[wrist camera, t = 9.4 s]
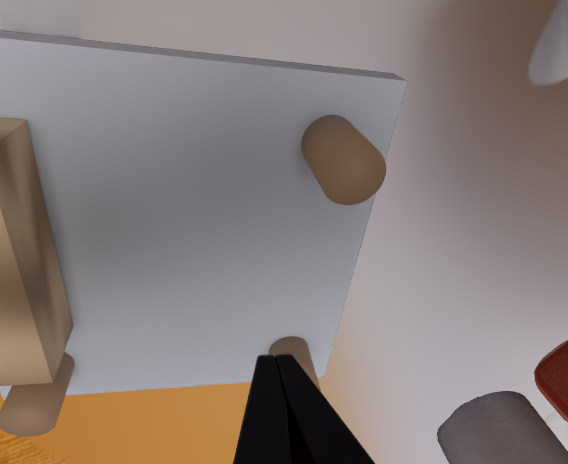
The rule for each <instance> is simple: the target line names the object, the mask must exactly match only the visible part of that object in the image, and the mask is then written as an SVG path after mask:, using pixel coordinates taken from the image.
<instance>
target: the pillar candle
mask: <svg viewBox="0 0 568 464" xmlns="http://www.w3.org/2000/svg"><path fill="white" fill-rule="evenodd" d="M437 437H438V442H439V444H440V446H441V448H442V450H443V452H444V454H445V456H446V458H447V460H448V462H449V463H450V464H568V451H567V450H566V449H565V447H564V446H563V445H562V444H561V442H560V441H559V440H558V438H557V437H556V436H555V434H554V433H553V432H552V431H551V429H550V428H549V427H548V425H547V424H546V423H545V422H544V420H543V419H542V418H541V417H540V415H539V414H538V413H537V411H536V410H535V409H534V407H533V406H532V405H531V403H530V402H529V401H528V400H527V399H526V398H525V396H523V395H522V394H520V393H516V392H512V391H502V392H494V393H490V394H487V395H484V396H481V397H477V398H475V399H473V400H471V401H470V402H467V403H464V404H463V405H461V406H460V407H459V408H458V409H456V410H455V411H454V413H453V414H452V415H451V416H450V417H449V418H448V419H447V420H446V421H445V422H444V423H443V424H442V425H441V426H440V427H439V429H438V432H437Z"/></svg>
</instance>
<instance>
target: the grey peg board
mask: <svg viewBox="0 0 568 464" xmlns="http://www.w3.org/2000/svg"><path fill="white" fill-rule="evenodd" d="M407 82H408V81H407V80H404V79H403V78H401V77H399V76H397V75H395V74H393V73H384V72H376V71H366V70H358V69H348V68H338V67H330V66H321V65H311V64H302V63H293V62H284V61H275V60H265V59H256V58H247V57H238V56H229V55H219V54H211V53H201V52H192V51H183V50H174V49H165V48H156V47H146V46H137V45H128V44H119V43H110V42H101V41H91V40H82V39H73V38H64V37H55V36H46V35H37V34H27V33H18V32H9V31H0V118H7V119H22V120H26V122H27V126H28V131H29V135H30V139H31V144H32V148H33V152H34V157H35V161H36V166H37V170H38V174H39V179H40V183H41V187H42V192H43V196H44V200H45V205H46V209H47V213H48V218H49V222H50V227H51V231H52V235H53V240H54V244H55V248H56V253H57V257H58V261H59V266H60V270H61V275H62V279H63V283H64V288H65V292H66V296H67V301H68V305H69V309H70V314H71V318H72V322H73V329H72V332H71V334H70V337H69V340H68V343H67V345H66V348H65V351H64V354H63V356H62V359H61V362H60V365H59V367H58V370H57V373H56V376H55V378H54V381H53V383H42V384H27V385H12V386H0V392H1V394H2V397H3V399H4V400H5V402H4V404H3V406H2V408H1V410H0V428H1V429H2V430H3V431H5V432H7V433H10V434H13V435H17V436H37V435H42V434H45V433H47V432H49V431H51V430H52V429H53V428H54V427H55V425H56V422H57V419H58V416H59V413H60V410H61V407H62V404H63V401H64V398H65V395H78V394H92V393H106V392H119V391H131V390H132V391H133V390H147V389H160V388H174V387H188V386H201V385H215V384H229V383H243V382H252V378H253V373H254V369H255V364H256V360H257V357H258V356H259V355H268V354H272V355H274V356H275V355H276V354H285V353H290V354H292V355H293V356H294V357H295V359H296V360H297V361H298V363H299V364H300V365H301V367H302V368H303V369H304V371H305V372H306V373H307V375H308V376H309V377H310V378H311V380H312V381H313V382H314V384H315V385H316V386H317V388H318V389H319V390H320V387H319V383H318V379H317V377H323V376H324V375H325V371H326V368H327V364H328V361H329V357H330V353H331V350H332V346H333V343H334V340H335V336H336V332H337V329H338V325H339V321H340V318H341V315H342V311H343V308H344V304H345V301H346V297H347V293H348V290H349V287H350V283H351V280H352V276H353V273H354V269H355V265H356V262H357V258H358V255H359V251H360V248H361V244H362V241H363V237H364V234H365V230H366V227H367V223H368V219H369V216H370V213H371V209H372V205H373V202H374V198H375V195H376V192H377V191H378V189H379V188H380V186H381V185H382V182H383V181H384V178H385V174H386V164H385V160H386V156H387V152H388V149H389V146H390V142H391V138H392V135H393V131H394V128H395V124H396V121H397V117H398V114H399V110H400V107H401V103H402V99H403V96H404V93H405V89H406V86H407ZM320 392H321V390H320Z"/></svg>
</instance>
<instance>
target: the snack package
mask: <svg viewBox="0 0 568 464" xmlns="http://www.w3.org/2000/svg"><path fill="white" fill-rule="evenodd" d="M534 374H535V382H536V385H537V387H538V389H539V390H540V391H541V393H542V394H543V395H544V396H545V398H546V399H547V400H548V401H549V402H550V404H551V405H552V406H553V407H554V408H555V409H556V411H557V412H558V413H559V414H560V415H561V416H562V418H563V419H564V420H565V421H567V422H568V341H565V342H564V343H562V344H560V345H559V346H557V347H556V348H555V349H554V350H552V351H551V352H550V353H548V354H547V355H546V356H545V357H544V358H543V359H542V360H541V361H540V363H539V364H538V366H537V367H536V369H535V372H534Z"/></svg>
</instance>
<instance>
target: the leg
mask: <svg viewBox="0 0 568 464" xmlns="http://www.w3.org/2000/svg"><path fill="white" fill-rule="evenodd" d="M72 329H73V322H72V318H71V314H70V309H69V305H68V301H67V296H66V292H65V288H64V283H63V279H62V275H61V270H60V266H59V261H58V257H57V253H56V248H55V244H54V240H53V235H52V231H51V227H50V222H49V218H48V213H47V209H46V205H45V200H44V196H43V192H42V187H41V183H40V179H39V174H38V170H37V166H36V161H35V157H34V152H33V148H32V144H31V139H30V135H29V131H28V126H27V122H26V120H22V119H7V118H0V386H12V385H27V384H42V383H53V381H54V378H55V376H56V373H57V370H58V367H59V365H60V362H61V359H62V356H63V354H64V351H65V348H66V345H67V343H68V340H69V337H70V334H71V332H72Z"/></svg>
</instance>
